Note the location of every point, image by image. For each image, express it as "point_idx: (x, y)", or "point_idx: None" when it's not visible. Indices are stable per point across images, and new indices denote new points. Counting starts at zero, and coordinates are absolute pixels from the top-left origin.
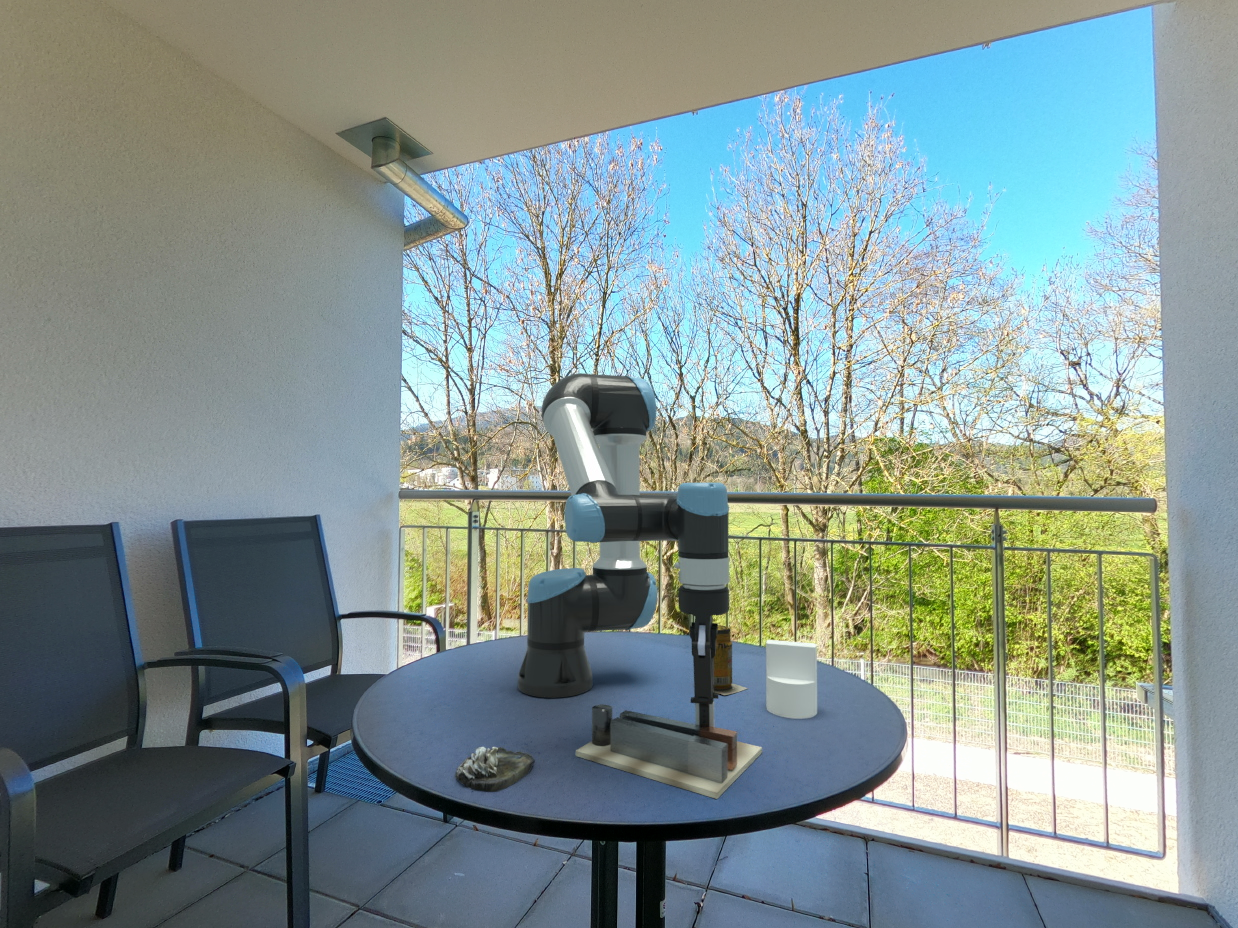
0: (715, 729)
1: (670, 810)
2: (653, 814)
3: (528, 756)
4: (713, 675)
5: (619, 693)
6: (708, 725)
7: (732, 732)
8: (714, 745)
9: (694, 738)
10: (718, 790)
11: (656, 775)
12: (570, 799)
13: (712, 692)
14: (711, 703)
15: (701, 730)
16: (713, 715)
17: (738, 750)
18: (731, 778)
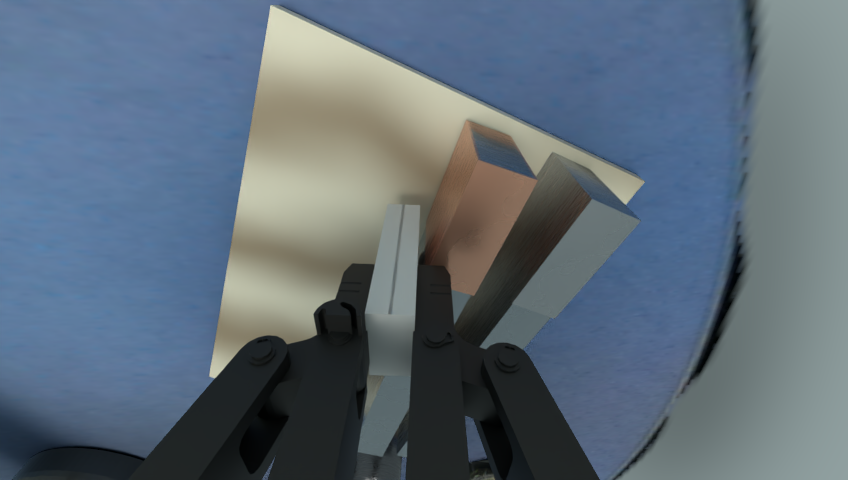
0: (466, 244)
1: (673, 271)
2: (683, 299)
3: (479, 477)
4: (242, 417)
5: (62, 404)
6: (447, 272)
7: (490, 179)
8: (607, 244)
9: (540, 302)
10: (630, 177)
11: None
12: (603, 408)
13: (417, 367)
14: (519, 348)
15: (477, 287)
16: (415, 275)
17: (333, 109)
18: (554, 138)
